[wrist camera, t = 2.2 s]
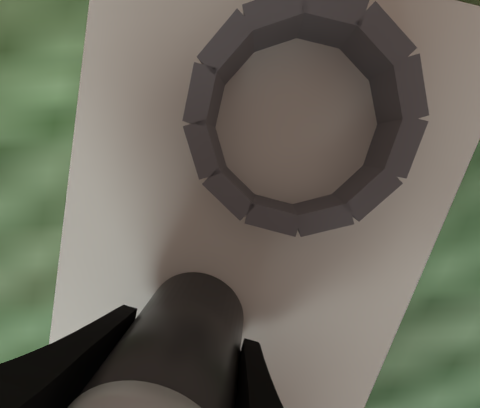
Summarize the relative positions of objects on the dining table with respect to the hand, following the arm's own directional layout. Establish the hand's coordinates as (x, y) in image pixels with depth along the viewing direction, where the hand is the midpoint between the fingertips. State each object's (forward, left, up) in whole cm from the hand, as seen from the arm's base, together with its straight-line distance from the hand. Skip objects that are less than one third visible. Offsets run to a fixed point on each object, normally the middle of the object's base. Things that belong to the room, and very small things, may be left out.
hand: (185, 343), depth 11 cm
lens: (0, 0, -2) cm, 2 cm away
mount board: (+5, -1, -3) cm, 6 cm away
